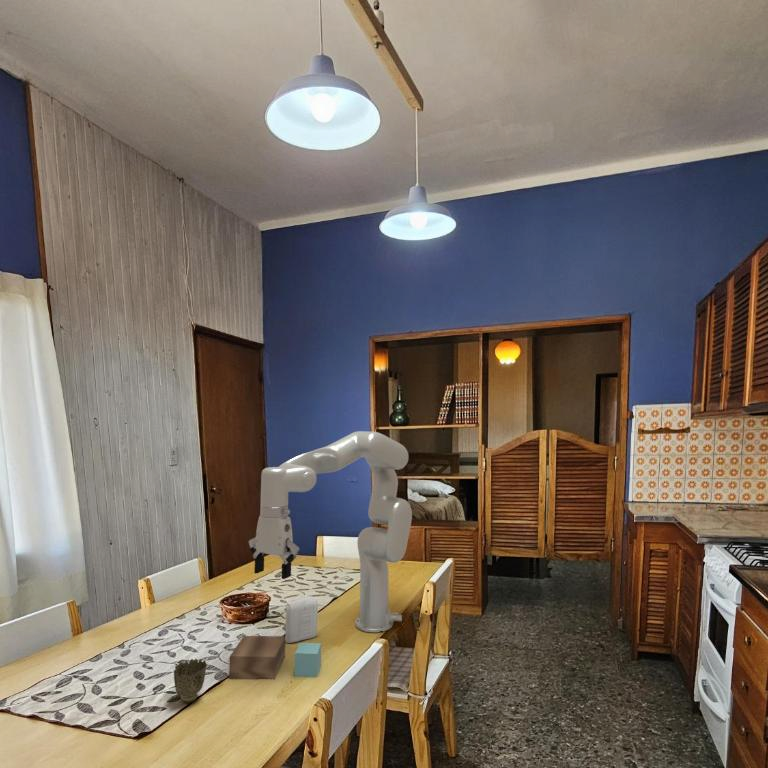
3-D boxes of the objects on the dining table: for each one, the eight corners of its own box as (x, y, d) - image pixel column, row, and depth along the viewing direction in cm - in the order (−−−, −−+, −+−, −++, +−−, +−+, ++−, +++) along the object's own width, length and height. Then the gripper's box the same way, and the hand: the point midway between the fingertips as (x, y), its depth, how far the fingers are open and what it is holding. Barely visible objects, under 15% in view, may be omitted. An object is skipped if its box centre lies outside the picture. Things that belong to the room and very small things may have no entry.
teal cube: (320, 665, 131) (321, 643, 132) (316, 677, 125) (317, 653, 126) (299, 665, 132) (299, 642, 132) (294, 676, 126) (294, 653, 126)
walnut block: (284, 658, 136) (285, 636, 137) (274, 680, 124) (275, 656, 125) (243, 657, 136) (243, 635, 137) (229, 680, 124) (229, 656, 125)
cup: (178, 692, 118) (179, 658, 119) (209, 690, 119) (210, 657, 119) (167, 710, 111) (168, 674, 111) (199, 708, 111) (201, 673, 112)
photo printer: (313, 631, 152) (314, 592, 153) (319, 636, 149) (319, 596, 150) (283, 639, 147) (283, 598, 148) (288, 645, 143) (289, 603, 144)
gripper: (307, 512, 132) (305, 576, 131) (260, 507, 140) (258, 566, 139) (289, 517, 125) (288, 584, 124) (241, 511, 134) (239, 573, 132)
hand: (272, 574), depth 131 cm, fingers open, 9 cm apart
